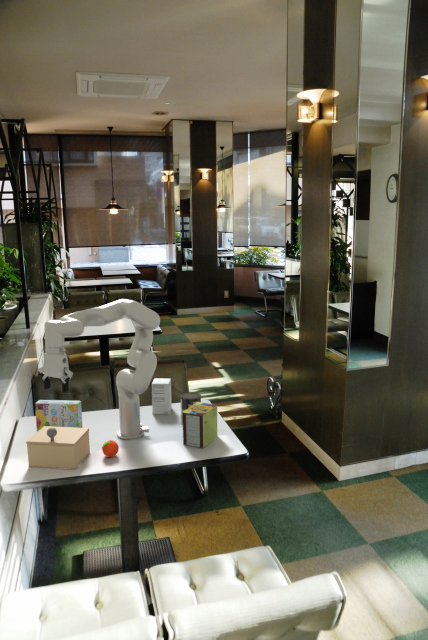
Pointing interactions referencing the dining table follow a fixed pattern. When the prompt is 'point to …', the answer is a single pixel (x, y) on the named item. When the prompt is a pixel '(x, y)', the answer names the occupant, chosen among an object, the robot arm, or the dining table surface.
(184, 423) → the protein box
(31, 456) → the carton
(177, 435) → the dining table surface
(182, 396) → the coffee can
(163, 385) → the supplement box
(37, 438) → the lid flap
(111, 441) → the clementine
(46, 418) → the snack box
